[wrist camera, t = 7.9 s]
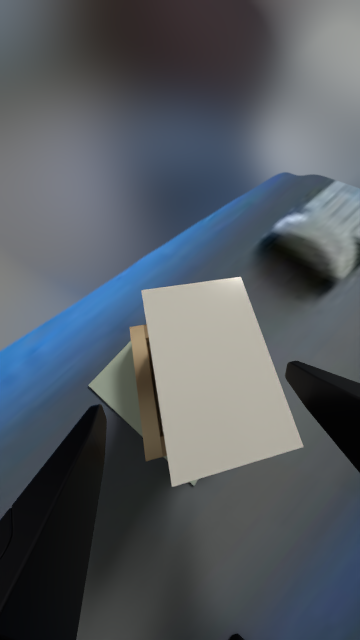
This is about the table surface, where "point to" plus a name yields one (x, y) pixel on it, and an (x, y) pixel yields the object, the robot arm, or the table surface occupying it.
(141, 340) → the tray
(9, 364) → the table surface
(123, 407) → the mat
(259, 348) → the off-white rectangular block
